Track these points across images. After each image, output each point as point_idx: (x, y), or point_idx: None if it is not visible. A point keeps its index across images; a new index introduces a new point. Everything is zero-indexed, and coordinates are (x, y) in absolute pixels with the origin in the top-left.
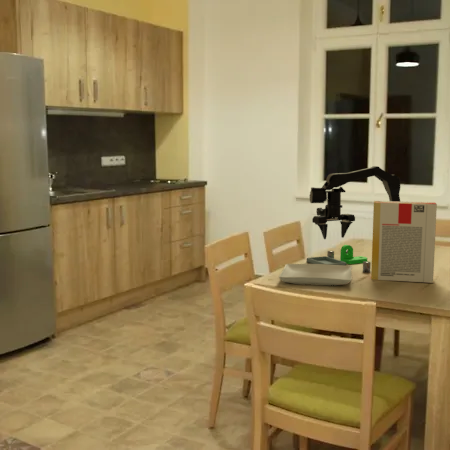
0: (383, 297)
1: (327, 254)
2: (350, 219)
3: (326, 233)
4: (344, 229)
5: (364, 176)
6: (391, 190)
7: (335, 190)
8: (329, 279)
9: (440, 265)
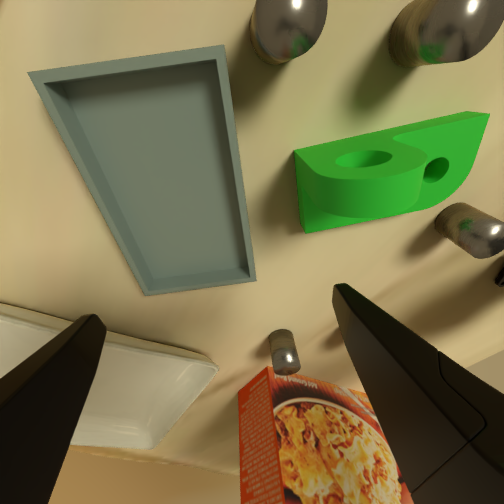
0: (190, 455)
1: (254, 8)
2: None
3: (75, 417)
4: (385, 418)
5: None
6: None
7: None
8: (101, 441)
9: None
